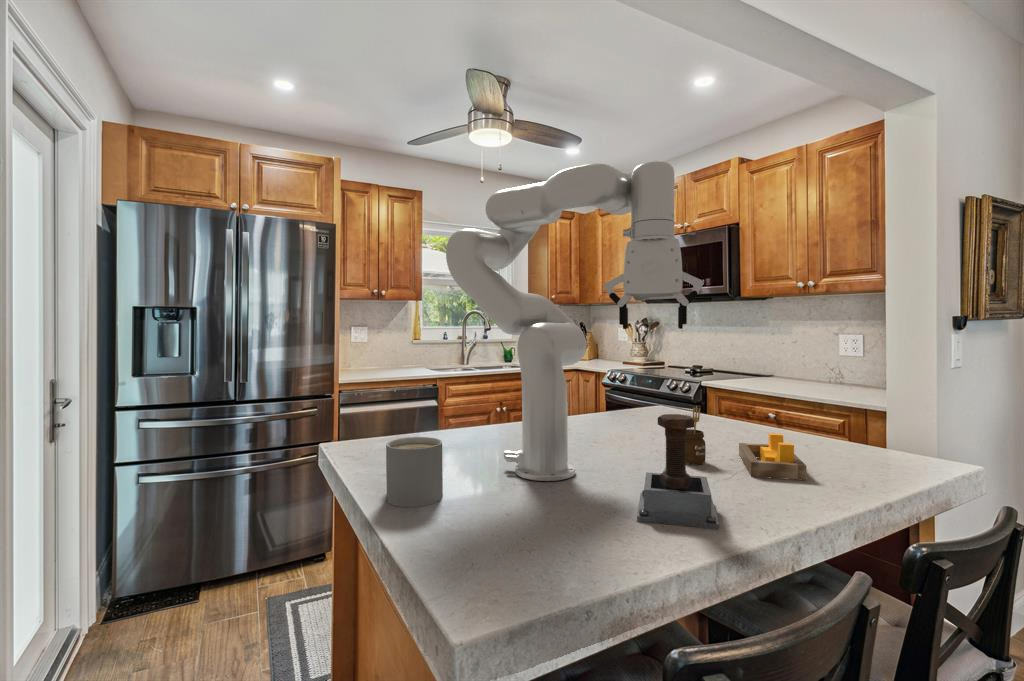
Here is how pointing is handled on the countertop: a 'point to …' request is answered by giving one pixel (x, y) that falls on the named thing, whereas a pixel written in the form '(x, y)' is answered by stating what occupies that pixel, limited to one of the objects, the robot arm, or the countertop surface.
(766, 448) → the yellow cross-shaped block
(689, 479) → the bolt
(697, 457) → the utensil holder
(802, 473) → the parts corral
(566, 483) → the countertop surface
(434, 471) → the coffee mug
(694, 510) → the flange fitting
